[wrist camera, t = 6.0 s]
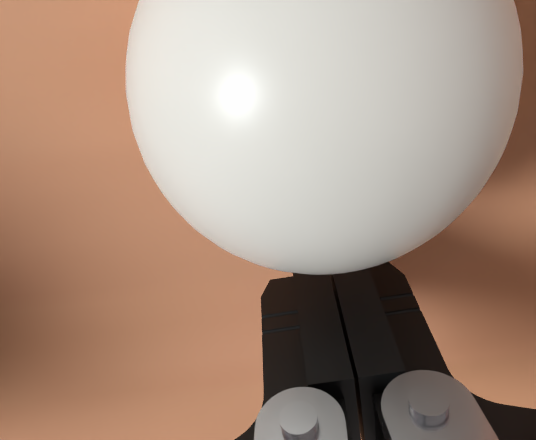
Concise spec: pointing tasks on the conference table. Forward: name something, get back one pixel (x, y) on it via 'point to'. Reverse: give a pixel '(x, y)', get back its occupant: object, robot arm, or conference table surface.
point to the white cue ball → (322, 120)
